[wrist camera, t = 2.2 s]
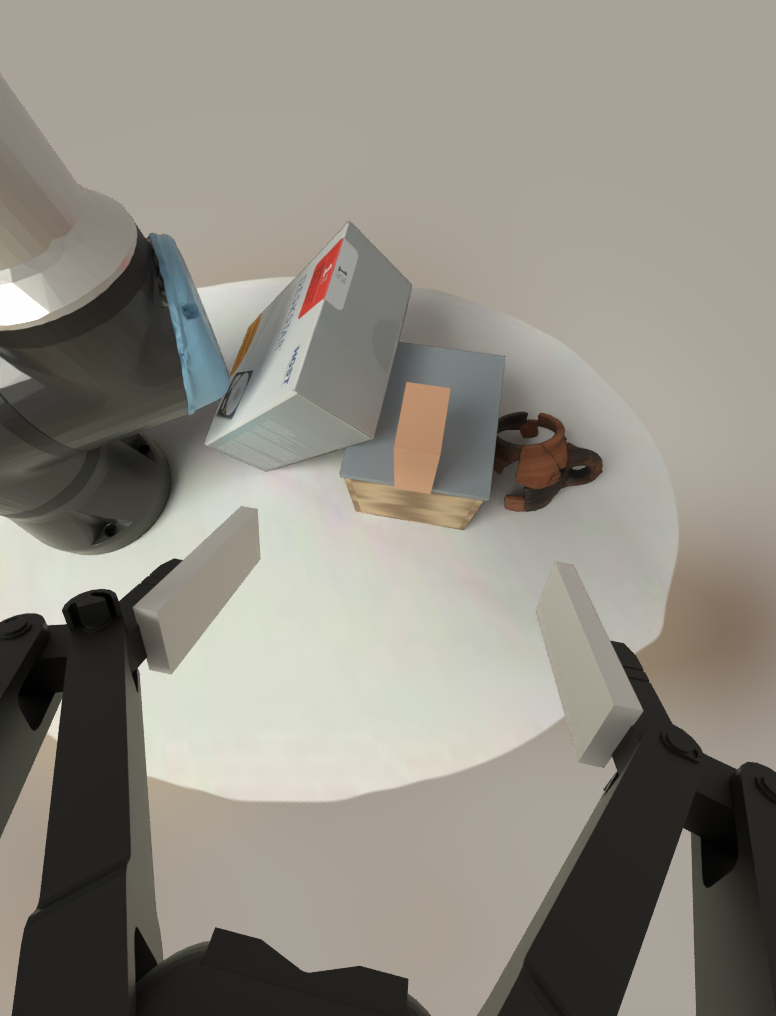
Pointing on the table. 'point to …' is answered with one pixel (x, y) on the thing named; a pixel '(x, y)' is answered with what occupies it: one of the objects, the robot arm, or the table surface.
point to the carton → (412, 504)
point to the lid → (434, 424)
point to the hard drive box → (315, 359)
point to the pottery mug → (542, 461)
